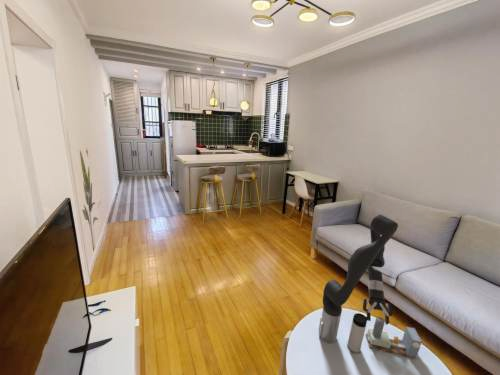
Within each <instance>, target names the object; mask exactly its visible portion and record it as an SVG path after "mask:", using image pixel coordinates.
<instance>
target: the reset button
mask: <svg viewBox="0 0 500 375" xmlns="http://www.w3.org/2000/svg"><path fill="white" fill-rule="evenodd" d="M393 340H394V343H395V344H397V345H398V344H399V343H402V338H401V339H400V338H399V336H396V335H395V336H393Z"/></svg>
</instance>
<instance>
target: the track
mask: <svg viewBox="0 0 500 375" xmlns="http://www.w3.org/2000/svg"><path fill="white" fill-rule="evenodd" d="M365 338H366V342H367V345H368V348H369V349H371V350H374V351H381V352H383V353H388V354H393V355H397V356H402V357H406V358H410V359H415V360H416V359H417V357H418V356H417V357H413V356H409V355H408V354H407V352H406V350H405V349H406V347H405V345H403V343H399V344H398V345H397V344H395V343H394V338H389V340H390V342H391V346H390V348H387V347H382V346H378V345H373V344H371V342H370V339H369V335H368V333H365Z"/></svg>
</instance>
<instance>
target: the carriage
mask: <svg viewBox="0 0 500 375" xmlns="http://www.w3.org/2000/svg"><path fill="white" fill-rule="evenodd" d="M384 327H385V318H382V317H380V316H376V317H375V322H374V325H373V329H372V328H368V330H367V334H368V335H369V339H370V342H371V344H373V345H378V346H382V347H387V348H390V346H391V342H390V340H389V339H390V337H389V335H388V333H387V332H386V331H384Z"/></svg>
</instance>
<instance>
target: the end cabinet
mask: <svg viewBox="0 0 500 375" xmlns="http://www.w3.org/2000/svg"><path fill="white" fill-rule="evenodd" d="M401 340H402V343H403V345H405V347H406V349H405V350H406V352H407V354H408V355H409V356H413V357H418V354H419V351H420V348H421V345H422V343H423V342H422V340H421V338H420V336H419V334H418V332H417V330H416V328H414V327H410V326H409V327H408V326H405V330H404V333H403V336H402V338H401Z"/></svg>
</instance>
